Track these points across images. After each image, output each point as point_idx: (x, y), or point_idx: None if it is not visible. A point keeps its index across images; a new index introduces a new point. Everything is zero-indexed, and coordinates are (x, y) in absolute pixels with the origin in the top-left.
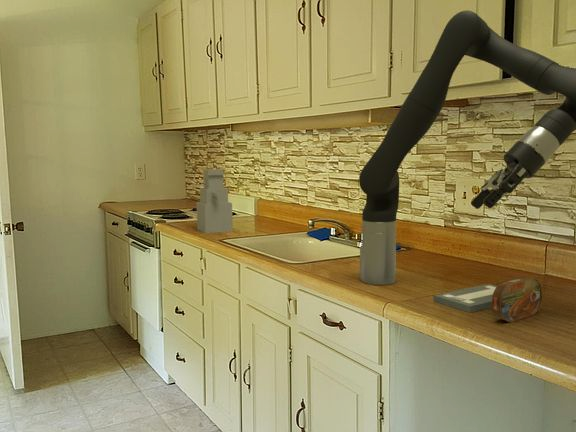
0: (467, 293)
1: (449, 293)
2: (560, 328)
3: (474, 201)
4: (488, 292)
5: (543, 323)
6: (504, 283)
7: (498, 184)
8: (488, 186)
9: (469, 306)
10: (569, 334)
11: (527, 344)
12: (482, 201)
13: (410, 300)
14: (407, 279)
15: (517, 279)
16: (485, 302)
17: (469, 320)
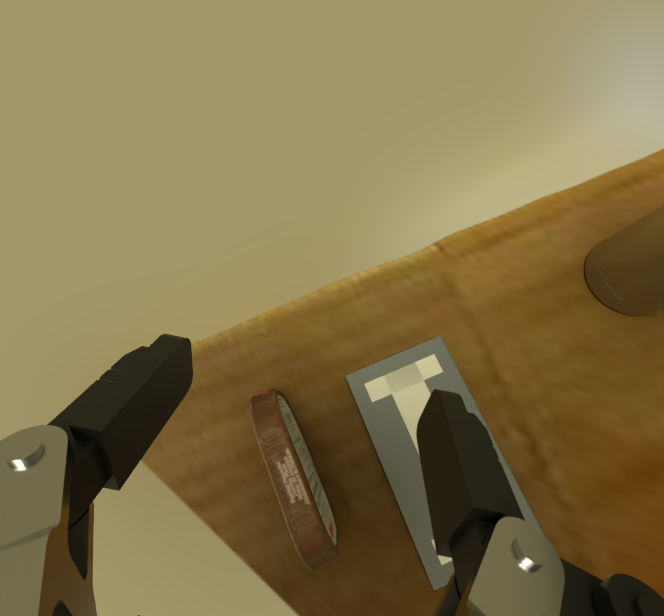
0: None
1: (452, 378)
2: (218, 506)
3: (438, 410)
4: None
5: (253, 491)
6: (272, 429)
7: (15, 485)
8: (463, 606)
9: (347, 375)
10: (185, 499)
11: None
12: (430, 475)
13: (449, 294)
14: (656, 355)
15: (302, 493)
16: (367, 425)
17: (302, 352)
